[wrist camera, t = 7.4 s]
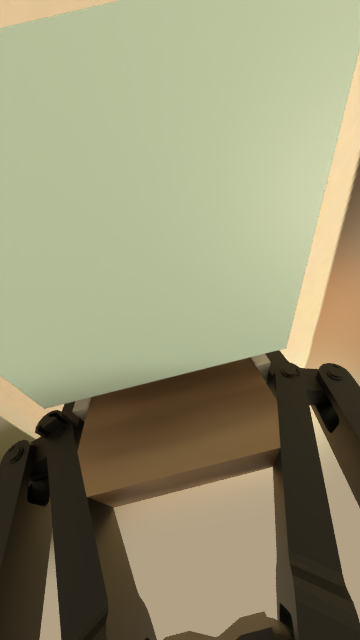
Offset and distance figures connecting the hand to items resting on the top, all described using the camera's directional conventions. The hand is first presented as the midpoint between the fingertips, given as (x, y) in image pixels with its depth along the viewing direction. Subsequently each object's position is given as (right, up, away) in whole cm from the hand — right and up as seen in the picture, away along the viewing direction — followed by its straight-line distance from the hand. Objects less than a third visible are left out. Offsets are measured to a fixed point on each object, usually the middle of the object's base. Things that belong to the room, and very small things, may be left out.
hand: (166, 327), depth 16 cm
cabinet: (-2, +6, 0) cm, 6 cm away
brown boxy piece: (0, +1, +1) cm, 1 cm away
